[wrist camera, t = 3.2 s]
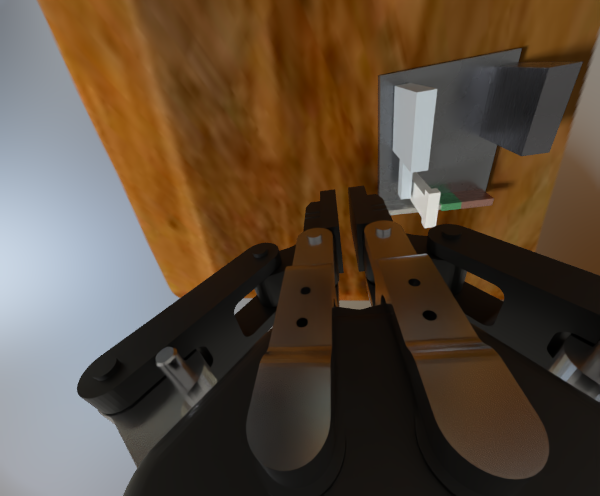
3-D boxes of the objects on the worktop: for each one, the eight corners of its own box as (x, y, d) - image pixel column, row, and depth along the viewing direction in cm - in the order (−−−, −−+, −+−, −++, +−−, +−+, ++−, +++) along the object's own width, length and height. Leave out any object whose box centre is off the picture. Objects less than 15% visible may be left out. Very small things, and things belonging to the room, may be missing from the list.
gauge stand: (377, 204, 33) (391, 239, 26) (378, 75, 25) (397, 79, 19) (479, 192, 31) (521, 226, 25) (515, 48, 23) (589, 43, 17)
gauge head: (391, 189, 30) (407, 218, 25) (394, 85, 24) (416, 92, 19) (403, 187, 30) (422, 216, 24) (410, 82, 24) (437, 88, 18)
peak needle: (405, 197, 31) (424, 228, 25) (407, 168, 29) (428, 193, 23) (414, 196, 31) (435, 226, 25) (417, 166, 29) (440, 192, 23)
